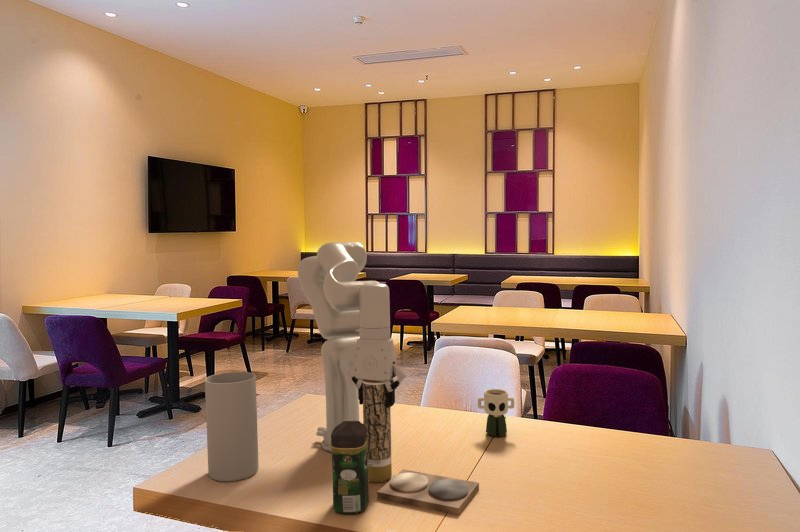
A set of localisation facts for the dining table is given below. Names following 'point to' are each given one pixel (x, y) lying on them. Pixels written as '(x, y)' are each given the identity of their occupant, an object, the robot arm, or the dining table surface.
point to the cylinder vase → (231, 425)
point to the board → (429, 491)
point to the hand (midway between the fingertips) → (376, 404)
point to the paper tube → (377, 431)
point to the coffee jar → (349, 467)
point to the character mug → (496, 410)
